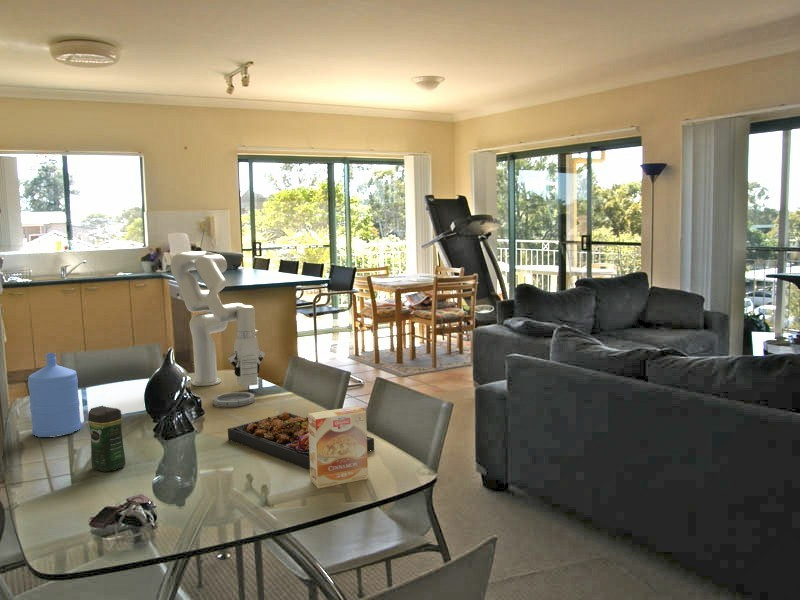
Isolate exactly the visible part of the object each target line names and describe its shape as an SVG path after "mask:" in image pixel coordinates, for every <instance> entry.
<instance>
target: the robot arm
mask: <svg viewBox="0 0 800 600" xmlns="http://www.w3.org/2000/svg"><path fill="white" fill-rule="evenodd" d="M227 269H228V262H227V260H226V258H225V257H224V256H223V255H221V254H219V253H216V252H210V251H205V250H197V251H184V252H183V251H182V252H179V253H176V254H175V255H173V256H172V258H171V260H170V272H171V275H172V276H173V279H174V280H175V282H176V284H177V286H178V289H179V290H180V291H179V292H180V293H181V296H182V299H183V302H184V304H185V307H186V309H187V311H189V312H190V313H197V314H195V315H194V316H193V315H192V317H191V319H190V321H189V330H190V333H191V339H192V349H193V365H194V380H192V381H191V385H192V386H195V387H207V386H214V385H217V384H220V383H221V381H222V379H221V378H219V377H218V371H217V370H218V369H217V368H218V367H217V352H216V343H215V340H214V339H213V337H212V334H215V333H221V332H223V331H225V330H226V329H227V327H228V323H229V322H236V337H235V338H234V343H233V353H232V354H231V355H230V356H228V358H227V359H228V361H229V362H230V364H231V365H232V366H233V367H234V374H235V377H237V376H238V377H239V376H240V367H239V365H240V357H246V356H253V355H256V356H257V374H259V373H260V365H261V361H263V359H264V357H265V355H266V353H265V352H264V351H262V350H260V347H259V342H258V341H259V340H258V337H257V336H256V334H258V332H259V331H258V330H257V329H256V318H255V317H256V316H255V315H256V311H255V307H254V306H253V305H251V304H244V303H241V302H234V303H226V304H223V303H222V301H221V298H220V296H219V294H218V293H220V292H221V291H222V290H223V289H225V287H226V285H227V280H226V278H225V277H224V275H223V273H225V272H226V271H227ZM190 271H197V273H198V275H199V276H200V279H201V280H202V281H203V283H204V285H205V287H206V288H207V289H201V286H200V285H199V281H198V280H197V278H196V277H195V276H194V274H192V273H191V272H190ZM201 312H203V313H201Z"/></svg>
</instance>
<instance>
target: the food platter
mask: <svg viewBox="0 0 800 600" xmlns="http://www.w3.org/2000/svg"><path fill="white" fill-rule="evenodd" d="M227 436H228V437H227V439H229V440H228V441H230V440H232V441H231V442H233V441H234V442H233V443H236V442H237V443H236V444H238V443H239V444H238V445H241V444H242V445H241V446H243V447H244V446H245V447H246V446H247V448H249V449H252V450H254V451H258V452H260V453H262V454H265V455H268V456H270V457H273V458H276V459H279V460H281V461H284V462H287V463H289V464H292V465H295V466H298V467H300V468H302V469H305V470H307V471H310V452H309V424H308V416H306V417H303V416H300V415H297V414H293V413H291V412H287V411H283V412H282V413H281V414H277V415H275V416H274V415H273V416H267V417H265V418H263V419H259V420H255V421H251V422H248V423H244V424H243V423H242V424H240V425H237V426H236V425H235V426H233V427H228V428H227ZM373 449H374V450H375V439H374V438H373V437H371V436H367V453H369V452H368V451H370V450H373ZM374 450H373V451H374ZM370 452H371V451H370Z"/></svg>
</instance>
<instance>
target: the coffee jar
mask: <svg viewBox="0 0 800 600" xmlns="http://www.w3.org/2000/svg"><path fill="white" fill-rule="evenodd" d="M87 414H88V415H87V422H88V427H89V433H90V434H89V435H90V449H91V450H90V452H91V453H90V454H91V455H90V457H91V462H90V463H91V468H92V469H93V470H97V471H100V472H105V471H107V472H110V471H111V470H112V471H116V470H115V469H118V468H120V469H122V468H123V467H125V466H126V455H125V448H124V439H123V431H122V428H123V427H122V426H123V425H122V424H123V415H122V410H121V409H119V408H117V407H110V406H104V405H100V406H95V407H91V408H90V409H89V411H88V413H87ZM121 467H122V468H121ZM118 470H119V469H118Z"/></svg>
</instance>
